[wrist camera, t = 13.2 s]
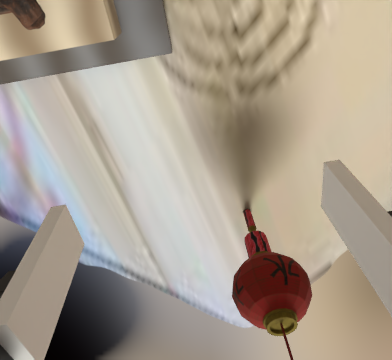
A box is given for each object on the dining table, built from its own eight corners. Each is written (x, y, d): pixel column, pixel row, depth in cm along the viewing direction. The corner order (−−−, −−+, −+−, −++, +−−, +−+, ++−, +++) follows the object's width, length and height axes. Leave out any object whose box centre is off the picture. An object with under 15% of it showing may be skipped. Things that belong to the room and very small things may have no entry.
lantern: (226, 183, 48) (282, 413, 22) (284, 192, 49) (400, 417, 24) (212, 230, 53) (245, 463, 27) (265, 237, 54) (344, 464, 29)
